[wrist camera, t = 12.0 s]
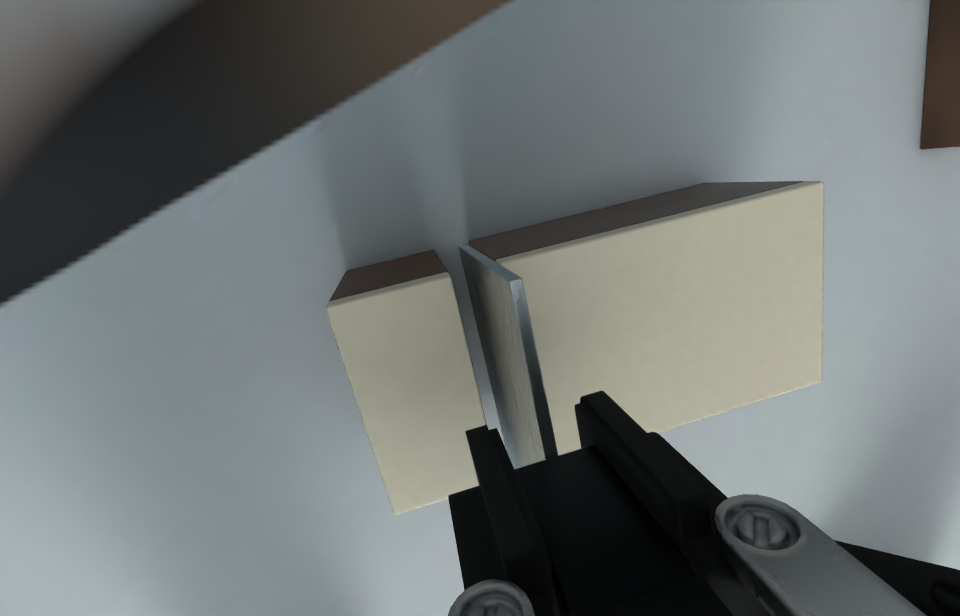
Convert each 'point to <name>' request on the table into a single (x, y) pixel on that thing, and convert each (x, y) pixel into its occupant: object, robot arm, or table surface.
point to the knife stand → (942, 77)
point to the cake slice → (410, 375)
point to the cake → (675, 300)
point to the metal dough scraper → (575, 479)
